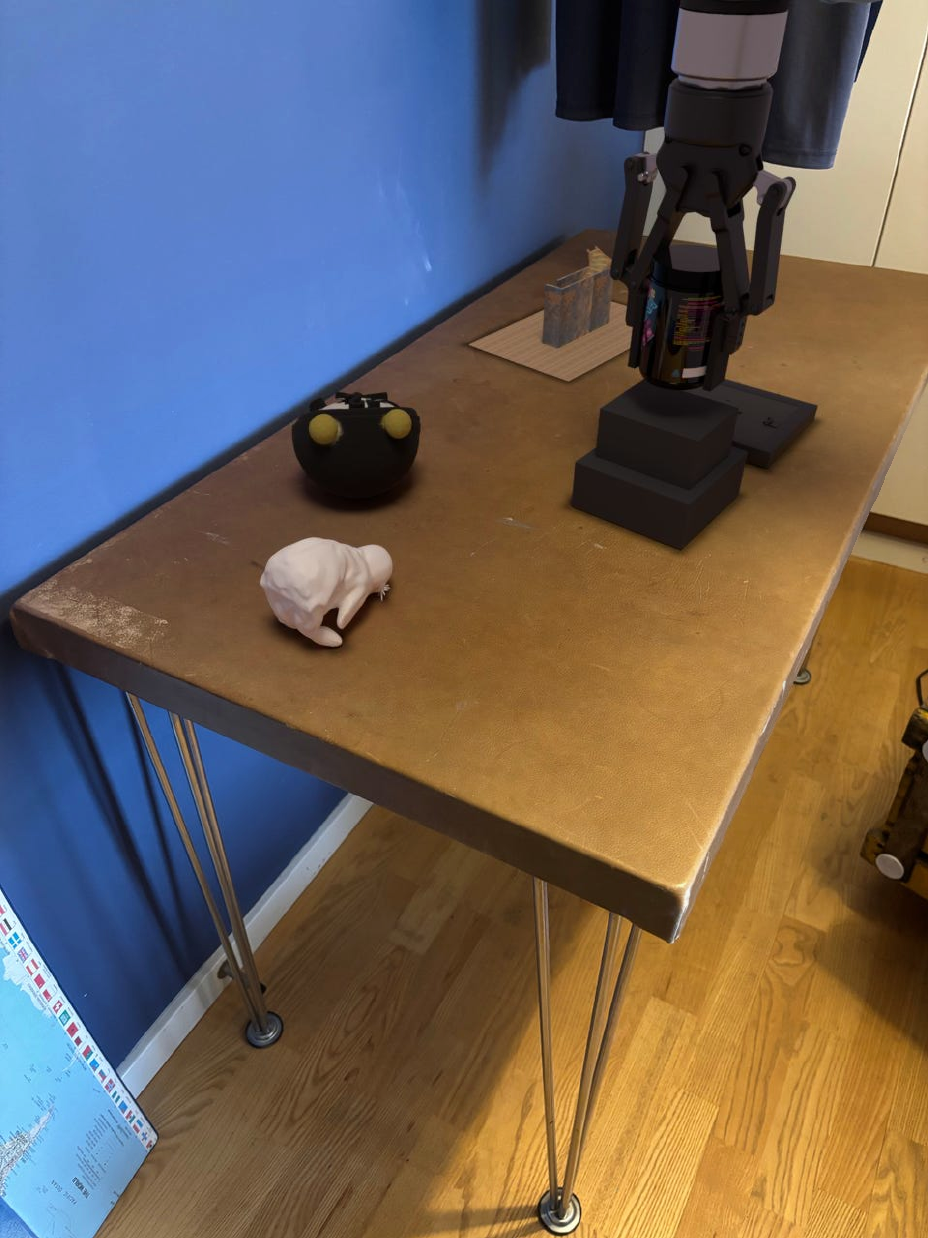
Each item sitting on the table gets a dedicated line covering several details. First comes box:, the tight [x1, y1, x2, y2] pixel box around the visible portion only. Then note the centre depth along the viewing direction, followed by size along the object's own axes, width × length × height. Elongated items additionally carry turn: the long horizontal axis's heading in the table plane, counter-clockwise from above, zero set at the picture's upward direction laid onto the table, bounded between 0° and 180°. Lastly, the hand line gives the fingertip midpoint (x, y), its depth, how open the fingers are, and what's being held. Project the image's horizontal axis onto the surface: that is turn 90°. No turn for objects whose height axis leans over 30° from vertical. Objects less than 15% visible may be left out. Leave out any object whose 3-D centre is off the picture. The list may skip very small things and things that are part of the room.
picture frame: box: [682, 378, 819, 469], centre depth 102 cm, size 13×2×18 cm
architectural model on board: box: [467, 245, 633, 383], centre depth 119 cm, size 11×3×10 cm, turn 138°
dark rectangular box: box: [571, 446, 748, 551], centre depth 88 cm, size 12×12×5 cm
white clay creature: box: [259, 536, 394, 648], centre depth 74 cm, size 6×8×12 cm
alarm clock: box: [291, 391, 422, 500], centre depth 89 cm, size 12×15×15 cm
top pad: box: [595, 378, 739, 490], centre depth 85 cm, size 10×8×5 cm
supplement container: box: [637, 243, 725, 390], centre depth 78 cm, size 7×7×10 cm
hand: (675, 373), depth 81 cm, fingers closed on supplement container, 7 cm apart
